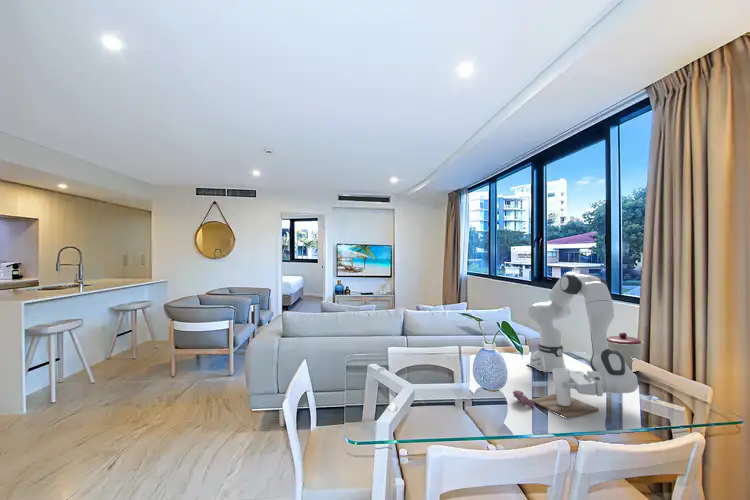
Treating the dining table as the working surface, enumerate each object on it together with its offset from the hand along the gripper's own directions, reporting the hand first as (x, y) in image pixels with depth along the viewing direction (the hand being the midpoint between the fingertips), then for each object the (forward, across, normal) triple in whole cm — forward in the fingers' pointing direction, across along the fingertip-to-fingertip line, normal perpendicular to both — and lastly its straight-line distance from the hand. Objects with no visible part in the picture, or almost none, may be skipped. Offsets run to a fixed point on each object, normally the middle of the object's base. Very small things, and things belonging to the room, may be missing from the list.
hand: (559, 381), depth 160 cm
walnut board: (-1, 0, +11) cm, 11 cm away
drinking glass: (-1, +2, +10) cm, 10 cm away
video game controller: (+16, -1, +11) cm, 19 cm away
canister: (-47, -54, +11) cm, 72 cm away
